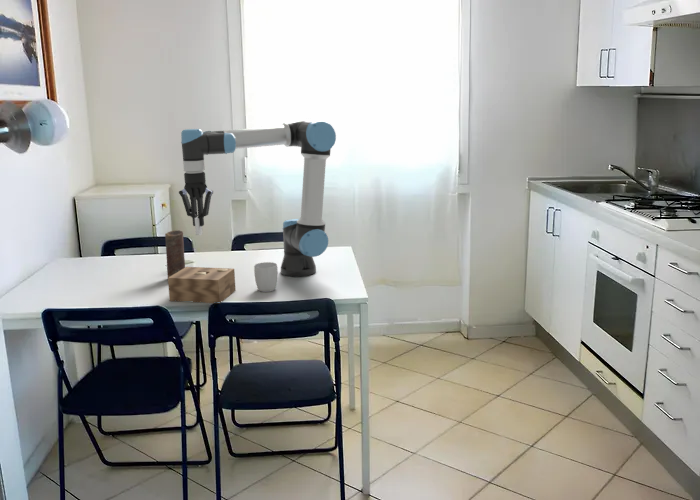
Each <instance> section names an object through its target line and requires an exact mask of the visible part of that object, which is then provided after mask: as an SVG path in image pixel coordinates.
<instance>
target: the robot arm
mask: <svg viewBox="0 0 700 500" xmlns="http://www.w3.org/2000/svg"><path fill="white" fill-rule="evenodd" d="M180 134H181V136H180V137H181V139H180V140H181V142H180V143H181V150H182V151H181V153H182V164H183V165H182V166H183V171H184V174H183V176H184V178H183V179H184V187H183V189H181V190H179V191H178V194H179V196H180V197H181V199H182V203H183V205H184V210H185V212H186V215H187V217H190V218H192V225H193V227H195V228H194V229H195V236H201V235H203V226H204V225H205V221H204V220H205V218H204V217H206V216H208V215H209V211H210V205H211V199H212V196H213V194H214V190H212V189H209V188H208V185H207V183H206V173H205V167H206V166H205V155H221V154H223V155H224V154H225V155H227V154H232V153H234V152H235V151H236V150H238V149H248V148H250V149H251V148H259V147H260V148H261V147H270V146H282V145H284V146H285V147H296V148H297V147H298V148H300V154H301V156H302V157H303V158H304V159H303V176H302V190H301V191H302V192H301V209H300V217H299V218H291V219H287V220H284V221H283V223H282V233H283V234H282V235H283V236H282V237H283V238H282V239H283V258H282V262H281V266H280V274H281V275H283V276H287V277H306V276H311V275H313V274H315V273H316V272H317V267H316V266H317V265H316V263H315V260H314V258H316V257H318V256H321V255H322V254H323V253H324V252H325V251H326V250H327V248H328V246H329V238H328V234H327V233H326V222H325V221H324V220H323V206H324V193H325V191H324V190H325V179H326V178H325V177H326V165H327V164H326V163H327V159H328V158H329V157H330V156H331V151H332V150H331V149H332V148H333V146H334V145H335V143H336V139H337V135H336V131H335V128H334V127H333V125H332V124H331V123H329V122H328V121H326V120H322V119H311V118H310V119H309V118H308V119H307V118H306V119H301V120H296V121H291V122H290V121H289V122H284V123H283V124H282V125H276V126H275V125H274V126H273V125H272V126H263V127H262V126H261V127H251V128H250V127H249V128H240V129H239V128H238V129H237V128H236V129H227V130H226V129H225V130H214V131H211V130H207V131H203V130H202V129H201V128H187V129H186V128H185V129H183V130H182V131H181V132H180ZM204 194H205V198H204Z"/></svg>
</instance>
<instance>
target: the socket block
mask: <svg viewBox="0 0 700 500" xmlns="http://www.w3.org/2000/svg"><path fill="white" fill-rule="evenodd" d="M197 272H206V275H195V273H197ZM167 284H168V295H169V302H181V301H193V302H192V303H201V302H203V304H205V303H206V304H215V303H214V302H221V301H222V302H224V301H225V300H226V299H227V298H229V297H230V296H231V295H232V294H234V293H235V292H236V291H237V290H236V275H235V268H232V267H229V268H227V267H225V268H224V267H199V266H185V268H184V269H182V270H180V271H179V272H177V273H175V274H174V275H172V276H170V277H168V276H167ZM175 300H176V301H175ZM204 302H205V303H204ZM222 302H221V303H222Z"/></svg>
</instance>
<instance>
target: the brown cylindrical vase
mask: <svg viewBox="0 0 700 500" xmlns="http://www.w3.org/2000/svg"><path fill="white" fill-rule="evenodd" d="M164 237H165V251H166V253H165V254H166V269H167V271H166V272H167V273H166V274H167V278H168V277H170V276H172V275H174V274H175V273H177V272H179V271H180V270H182V269H184V268H185V267H186V261H185V260H186V259H185V244H184V231H182V230H178V229H176V230H170V231H167V232H166V233H165V236H164Z"/></svg>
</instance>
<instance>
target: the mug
mask: <svg viewBox="0 0 700 500" xmlns="http://www.w3.org/2000/svg"><path fill="white" fill-rule="evenodd" d="M253 267H254V268H253V271H254V279H255V285H256V287H257V290H258V291H259V292H263V293H265V292H266V293H268V292H274V291H275V290H276V288H277V285H278V273H279V271H278V264H277V263H275V262H270V261H267V262H265V261H264V262H259V263H255V264H254V266H253Z"/></svg>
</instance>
